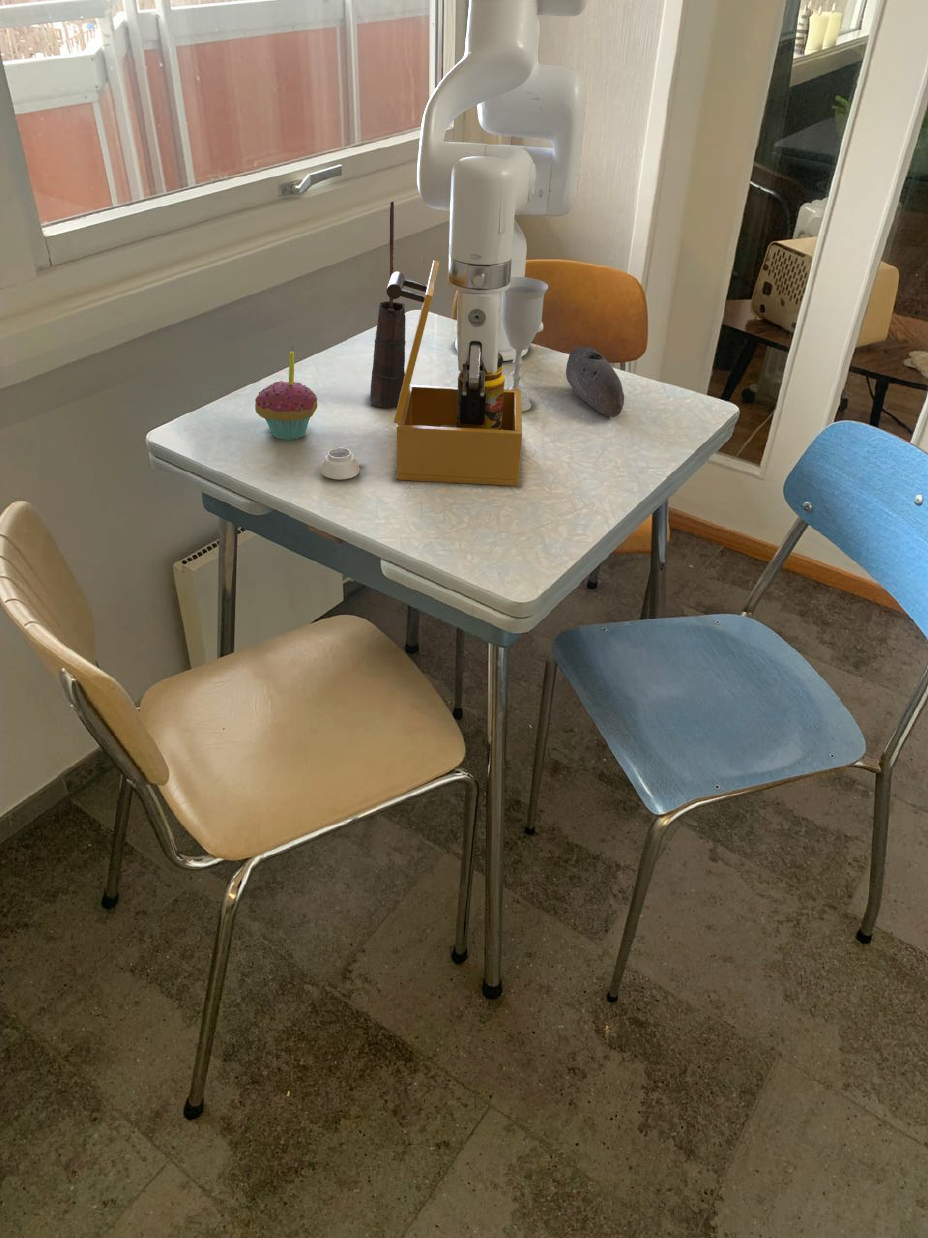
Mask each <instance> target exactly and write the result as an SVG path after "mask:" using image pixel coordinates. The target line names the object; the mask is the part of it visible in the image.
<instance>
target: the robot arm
mask: <svg viewBox="0 0 928 1238" xmlns="http://www.w3.org/2000/svg"><path fill="white" fill-rule="evenodd" d="M588 1H589V0H469V1H468V5H469V6H468V13H467V14H468V16H467V25H466V34H465V35H466V36H465V47H464V54H463V57H462V59H461V60H460V61H458V62H457V63H456V64H455V65H454V66H453V67H452V68H451V69H450V70H448V72H447V73H446V74H445V76H444V77H443V78H442V79H441V80H440V81H439V83H438V85H437V86H436V88H435V89H434V91H433V92H432V94H431V96H430V97H429V99H428V102H427V104H426V106H425V109H424V113H423V116H422V120H421V126H420V137H419V147H418V155H417V167H416V184H417V185H416V186H417V190H418V194H419V197H420V199H421V201H422V202H423V203H424V205H426V206H427V207H429V208H431V209H434V210H438V211H448V212H449V234H448V235H449V237H448V265H447V266H448V269H447V285H448V286H449V287H450V288H451V289H453V290H455V291H457V301H456V302H457V305H456V338H455V339H454V340H455V341H454V343H455V344H454V347H455V350H456V351H457V365H458V366H457V368H458V371H459V373H460V372H462V373H463V393H461V400H460V423H461V424H471V425H483V424H484V423H485V406H486V394H484V388H485V375H486V372H485V370H486V371H487V373H492V375H494V374H495V373H496V372H497V363H498V352H499V353H500V354H501V355H502V357H503V362H506V361H513V360H514V358H515V355H516V353H515V349H513V348H511V347H510V345H509V343H508V340H507V337H506V335H505V332H504V329H503V325H502V321H501V311H502V295H503V291H506V290H507V289H509V287H510V277H526V265H527V263H526V262H527V251H528V250H527V249H528V245H527V239H526V237H525V234H524V232H523V230H522V228H521V226H520V225H519V224H518V222H517V221H516V219H515V216H521V215H522V216H523V215H524V216H540V217H562V216H566V215H567V214H569V213H570V212H572V210H573V208H574V205H575V204H576V200H577V195H578V188H579V181H580V170H581V160H582V159H581V158H582V150H583V149H582V148H583V140H584V139H583V137H584V131H585V129H584V128H585V120H586V119H585V118H586V103H587V93H586V83H585V79H584V77H583V75H582V73H581V72H580V71H579V70H578V69H576V68H574V67H572V66H568V65H560V64H542V63H540V62H539V45H540V35H541V23H540V19H539V16H552V17H553V16H554V17H576V16H578V15H579V16H580V15H581V14H582V13H583V11H585V8H586V6H587V4H588ZM475 106H476V107H477V118H478V123H479V125H480V127H481V128H482V130H483V131H484V132H487V133H488V134H491V135H496V136H500V137H510V138H511V137H512V138H527V139H542V140H543V139H544V140H547V141H549V143H550V144H551V146H552V147H540V146H526V145H515V144H514V145H513V144H487V143H478V142H461V141H460V142H459V141H445V136H446V132H447V130H448V128H449V127H450V125H451V124H452V123H453V122H454V120H456V119H457V118H458V117H459V116H460V115H462V114H463V113H465V112H466V111H468V110H470V109H472V108H474V107H475ZM543 331H544V323H543V321H541V324H540V326H539V329H538V331H537V333H541V332H543ZM480 348H481V353H480ZM470 349H471V350H470ZM528 351H529V347H528V348H527V349H525V350H523V351H522V354H521V356H522V357H523V356H525V355H527V353H528ZM467 365H470V368H469V370H467ZM479 366H483V371H479ZM463 370H464V371H463ZM468 375H469V380H467V378H468ZM479 376H481V382H480V380H479Z"/></svg>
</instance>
